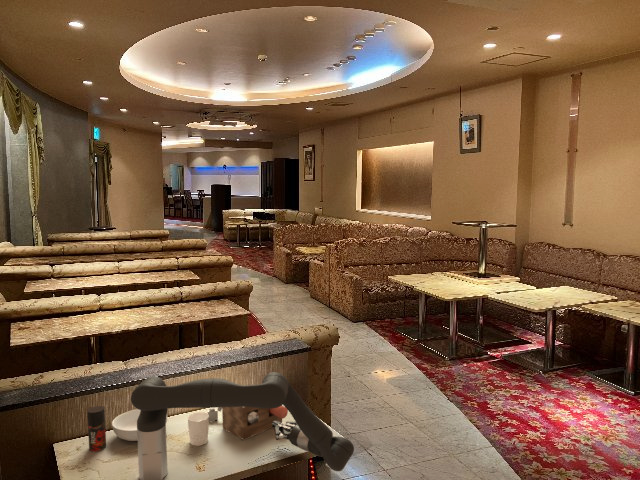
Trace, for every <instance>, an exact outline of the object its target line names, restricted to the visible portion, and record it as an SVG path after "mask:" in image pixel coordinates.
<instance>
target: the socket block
mask: <svg viewBox="0 0 640 480" xmlns="http://www.w3.org/2000/svg"><path fill="white" fill-rule="evenodd" d="M281 406H283V404H282V405H281ZM221 411H222V416H221V417H222V429H223V430H224V429H225V430H224V431H226V430H227V431H226V432H228V431H229V432H228V433H230V434H232V435H234V436H236V437H238V438H239V437H240V439H241V440H244V441H245V440H246V439H249V438H251V437H254V436H256V435H257V434H261V433H263V432H265V431H266V430H270V429H272V428H273V427H272V422H273V421H275V420H276V421H278V422H281V423H283V419H282V418H280V417H277V416H275V415H273V414H271V413H269V409H266V408H254V407H222V410H221ZM251 411H254V412H256V413H258V415H259V419H258V421H257V422H256V423H255V424H251V423H249V422H247V413H249V412H251Z"/></svg>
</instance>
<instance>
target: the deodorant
mask: <svg viewBox="0 0 640 480" xmlns="http://www.w3.org/2000/svg"><path fill="white" fill-rule="evenodd" d="M86 411H87V412H86V413H87V416H86V417H87V430H88V449H89V451H90V452H95V453H96V452H99V451H102V450H104V449H106V448H107V434H106V433H107V432H106V431H107V430H106V429H107V428H106V411H105V406H104V405H103V406H102V405H95V406H92V407H89V408H88V409H86Z"/></svg>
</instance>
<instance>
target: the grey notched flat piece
mask: <svg viewBox="0 0 640 480" xmlns="http://www.w3.org/2000/svg"><path fill="white" fill-rule="evenodd" d="M221 411H222V407H217V408H216V407H215V408H209V409H208V410H207V414H208V415H209V421H212V422H216V421H215V420H218V421H219V413H218V412H221Z"/></svg>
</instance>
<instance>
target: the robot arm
mask: <svg viewBox="0 0 640 480" xmlns="http://www.w3.org/2000/svg"><path fill="white" fill-rule="evenodd" d="M130 403H131V404H132V406H133V407H134V408H136V409H139V410H141V411H140V415H139V417H138V419H137V439H138V440H137V458H138V478H139V480H163V479H164V478H165V477H166V476H167V475H168V473H169V472H168V450H167V449H168V447H167V422H166V417H167V418H168V416H167V415H168V410H169V409H190V408H191V409H192V408H193V409H194V408H195V409H196V408H197V409H200V408H201V409H207V408H209V409H210V408H215V409H216V408H218V407H254V408H266V409H273V408H278V407H280V406H281V405H282V406H283V407H286V408H287V410H288V412H289V414H290V416H291V417H292V418H293V420H294V421H286V422H282V423H281V422H278V421H276V420H275V421H273V422H272V427H271V428H272V429H275V433H274V434H275V440H276V441H279V440H280V439H282V438H283V439H284V440H288V442H290V443H291V445H292V446H295V447H297V448H299V449H301V450H303V451H304V452H309V453H311V454H313V455H314V456H317V457H320V458H323V460H324V462H325V464H326V465H327V467H328V468H329V469H330V470H332V471H335V472H342V471H343V470H344V468H346V465H347V464H348V462H349V461H350V459H351V458H352V456H353V454H354V453H355V447H354V444H353V443H352V441H351V440H350V439H348V438H347V437H343V436H334V433H333V431H332V430H331V429H330V428H329V427H328V425H326V424H325V423H324V422H323V421H322V420H321V419H320V418H319V417H318V416H317V414H315V413H314V411H312V409H311V408H310V407H309V406H308V405H307V404H306V402H305V401H304V400H303V399H302V397H301V396H300V395H299V393H298V392H297V390H296V389H294V387H293V386H292V384H291V383H290V381H289V380H288V379H287V377H286V376H285V375H284V374H282V373H280V372H277V371H271V372H269V373H267V374H266V375H265V376H263V379H262V381H261V383H259V384H250V385H249V384H248V385H247V384H246V385H243V384H239V383H236V382H232V381H230V380H228V379H225V378H210V377H209V378H199V379H195V380H190V381H187V382H184V383H180V384H177V385H167V384H166V382H165V381H164V379H162V378H161V377H159V376H155V375H154V376H149V377H147V378H145V379H144V380H143V381H142V382H140V384H138V385H137V386H136V387H135V388H134V390H133V391H132V392H131V395H130Z"/></svg>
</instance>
